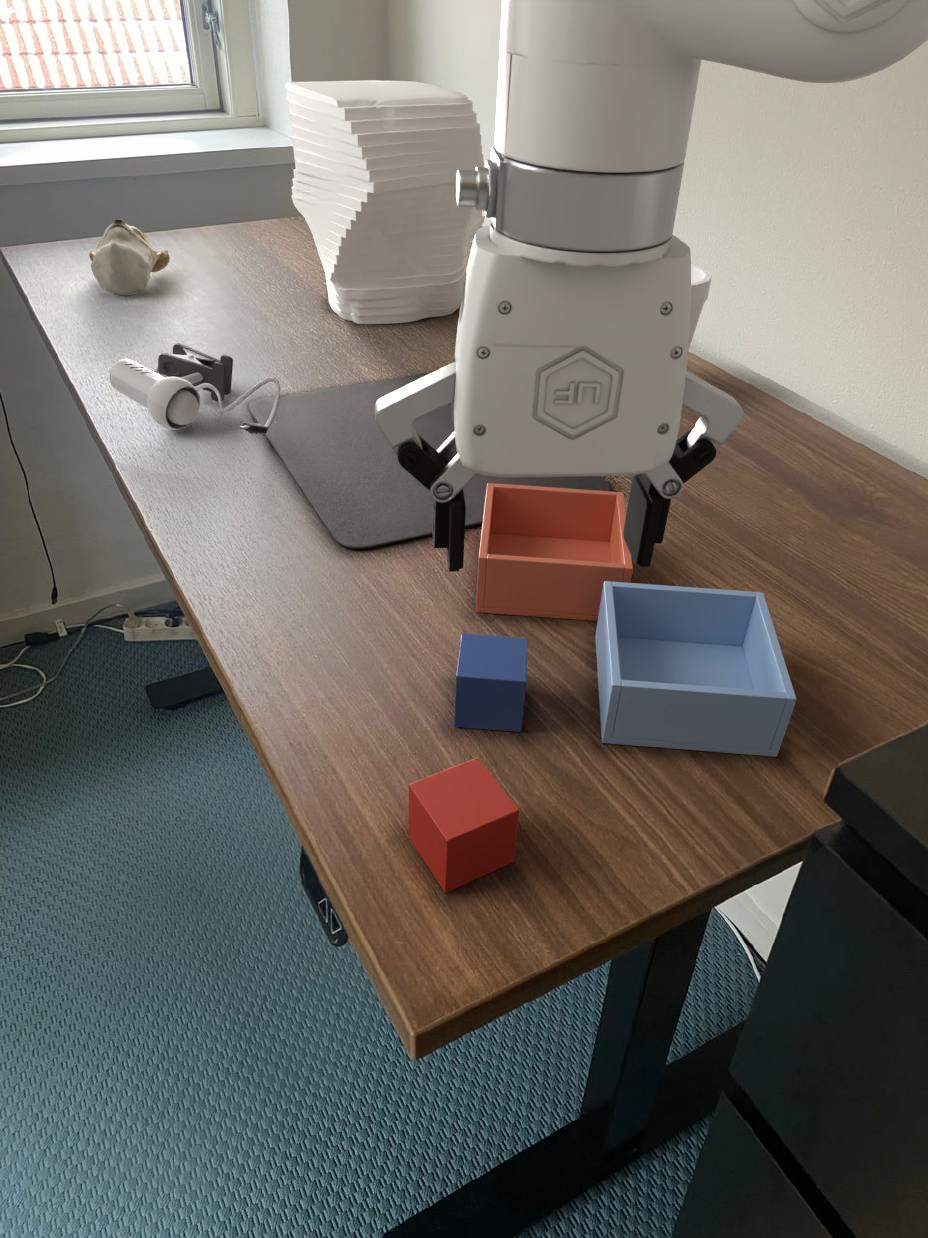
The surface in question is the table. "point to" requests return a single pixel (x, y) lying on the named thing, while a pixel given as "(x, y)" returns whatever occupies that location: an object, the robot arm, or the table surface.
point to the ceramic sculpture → (125, 259)
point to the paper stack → (386, 193)
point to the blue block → (491, 682)
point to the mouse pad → (370, 464)
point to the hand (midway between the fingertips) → (545, 554)
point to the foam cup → (698, 295)
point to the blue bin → (690, 670)
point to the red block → (462, 823)
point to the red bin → (550, 551)
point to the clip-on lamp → (182, 386)
